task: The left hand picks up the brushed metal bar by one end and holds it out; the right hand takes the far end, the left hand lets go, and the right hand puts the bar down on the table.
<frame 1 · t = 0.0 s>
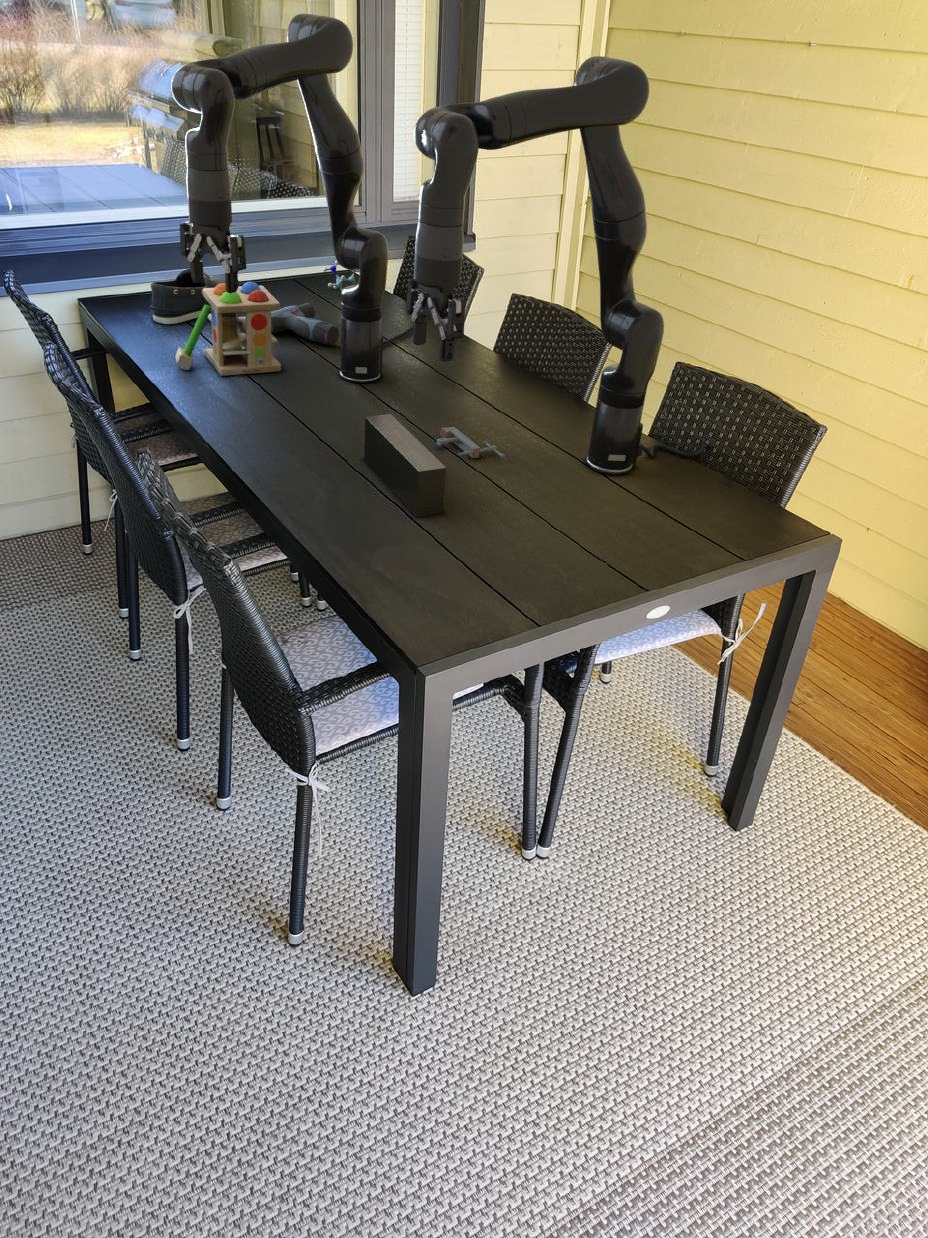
left hand: (214, 287, 183), 29 cm above the table, tool pointing down, fingers open, 8 cm apart
right hand: (432, 352, 163), 29 cm above the table, tool pointing down, fingers open, 8 cm apart
boat shoe: (198, 308, 263), on the table
clamp: (466, 451, 202), on the table
power drill: (311, 334, 253), on the table
bar: (401, 485, 187), on the table
molecular model: (341, 291, 287), on the table
pounding bench toy: (225, 365, 230), on the table
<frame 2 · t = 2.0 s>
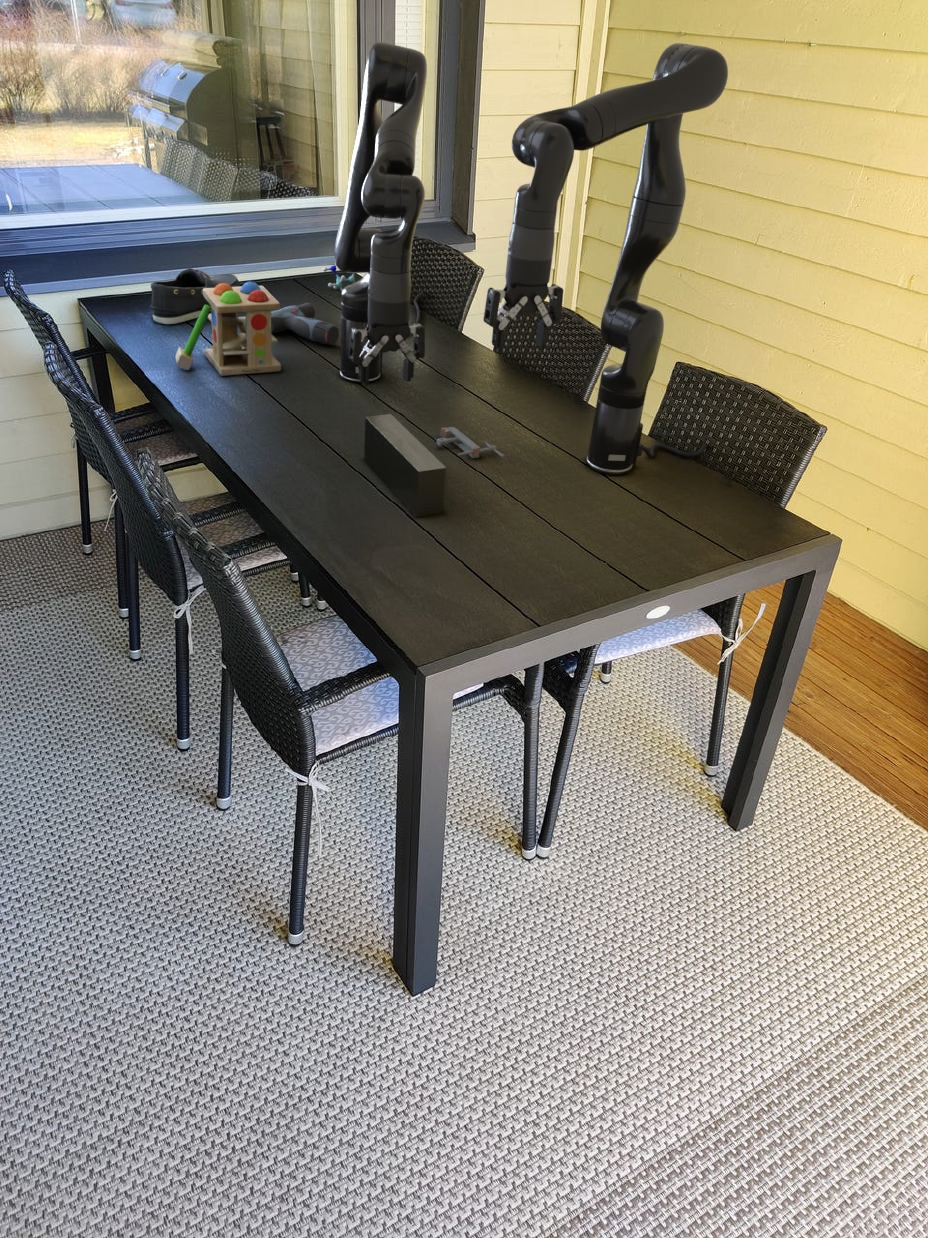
left hand: (386, 381, 184), 17 cm above the table, tool pointing down, fingers open, 8 cm apart
right hand: (519, 347, 173), 28 cm above the table, tool pointing down, fingers open, 8 cm apart
nothing on the table moved.
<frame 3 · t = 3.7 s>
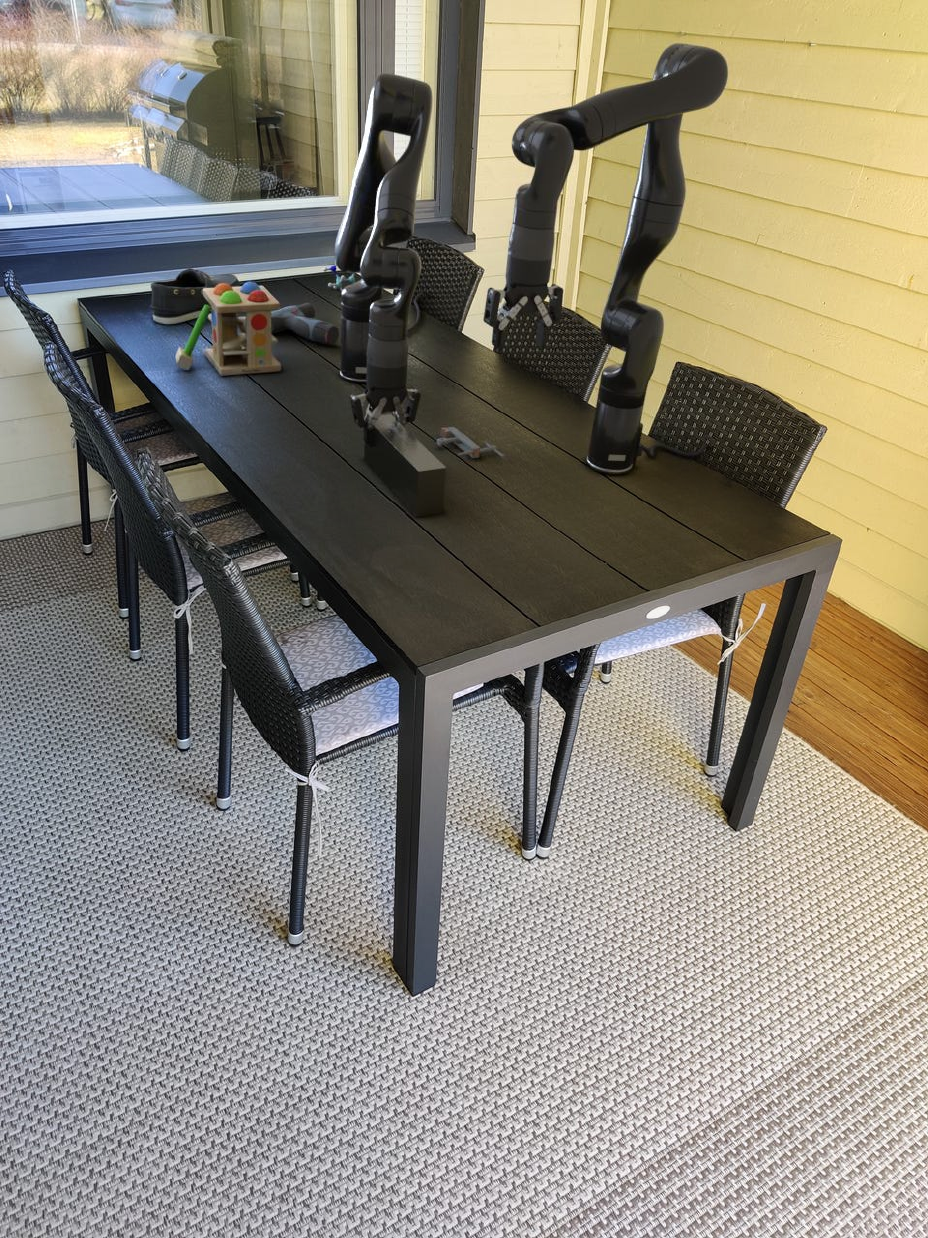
left hand: (383, 443, 191), 5 cm above the table, tool pointing down, fingers closed on bar, 5 cm apart
right hand: (519, 347, 173), 28 cm above the table, tool pointing down, fingers open, 8 cm apart
bar: (401, 485, 187), on the table, touching left hand
everything else where it was.
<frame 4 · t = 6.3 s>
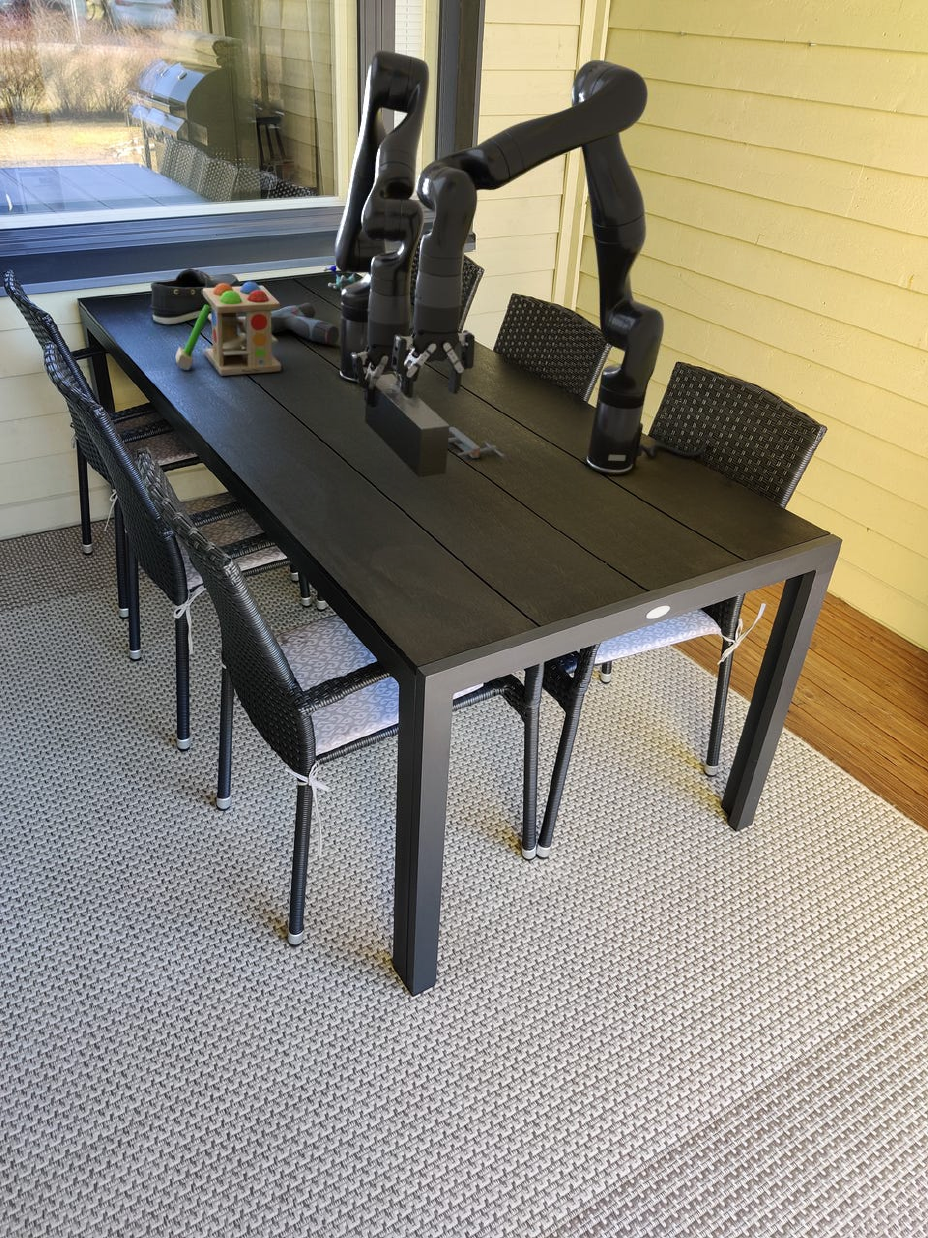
left hand: (385, 403, 186), 13 cm above the table, tool pointing down, fingers closed on bar, 5 cm apart
right hand: (430, 394, 168), 22 cm above the table, tool pointing down, fingers open, 8 cm apart
bar: (403, 446, 182), point 8 cm above the table, touching left hand
everything else where it was.
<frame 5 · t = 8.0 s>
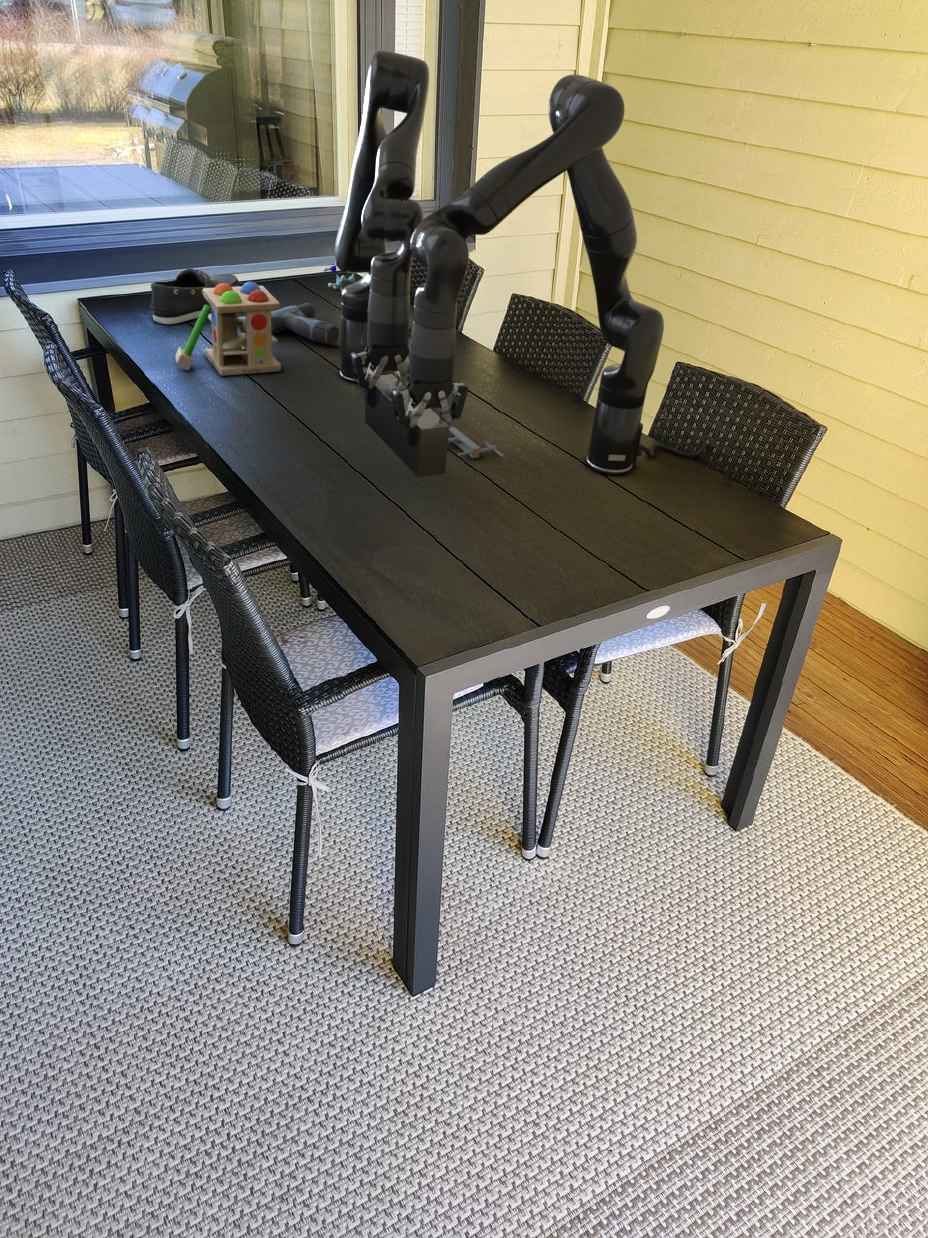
left hand: (385, 404, 186), 13 cm above the table, tool pointing down, fingers closed on bar, 5 cm apart
right hand: (426, 442, 173), 13 cm above the table, tool pointing down, fingers closed on bar, 5 cm apart
bar: (403, 446, 182), point 8 cm above the table, touching left hand, right hand
everything else where it was.
when the left hand's fingers open (13 cm above the table, at t = 9.0 s): bar stays where it is, held by the right hand.
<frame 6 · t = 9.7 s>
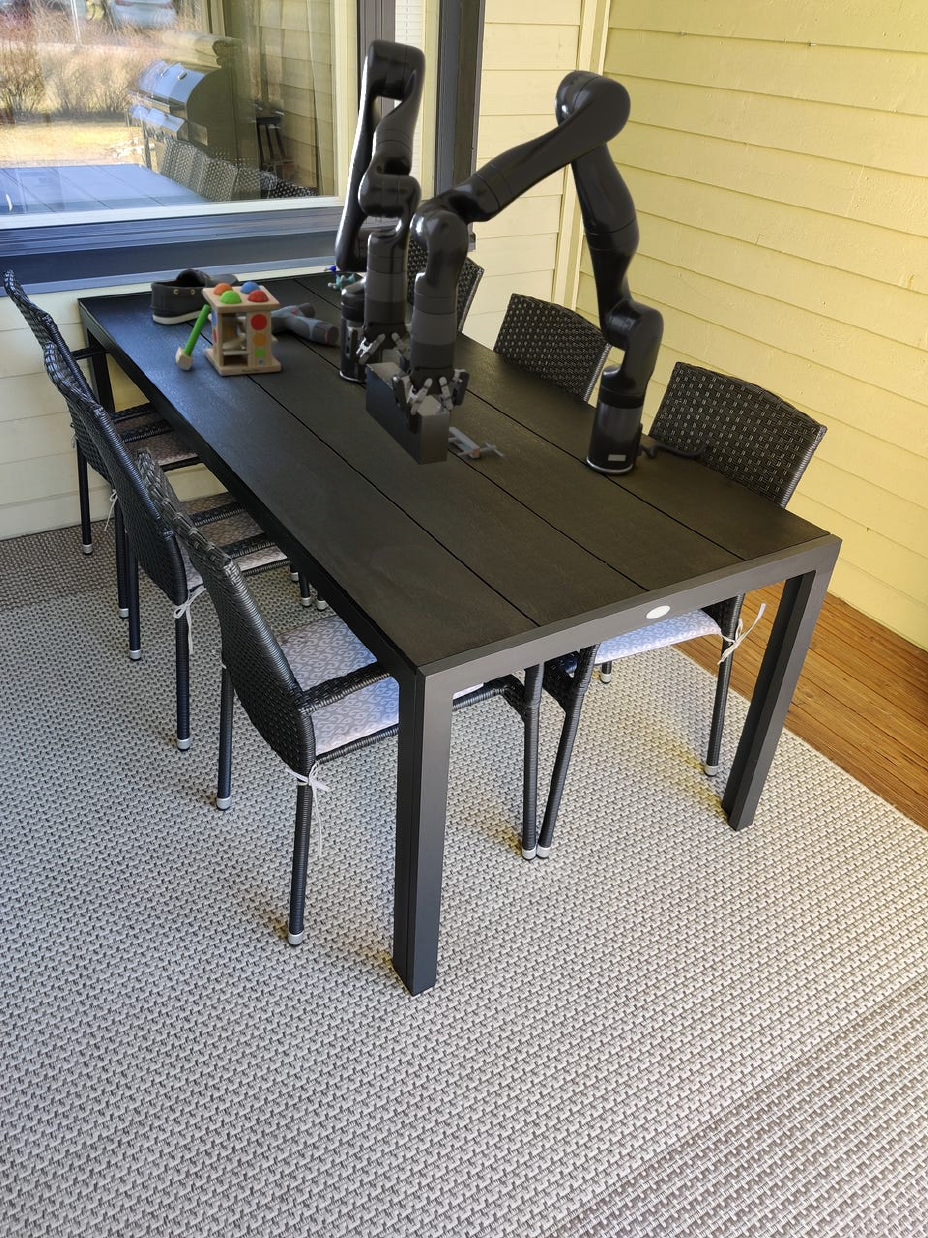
left hand: (382, 379, 185), 17 cm above the table, tool pointing down, fingers open, 8 cm apart
right hand: (427, 429, 172), 15 cm above the table, tool pointing down, fingers closed on bar, 5 cm apart
bar: (404, 434, 181), point 10 cm above the table, touching right hand
everything else where it was.
when the right hand's fingers open (6 cm above the table, at t = 12.5 s): bar drops 1 cm, on the table.
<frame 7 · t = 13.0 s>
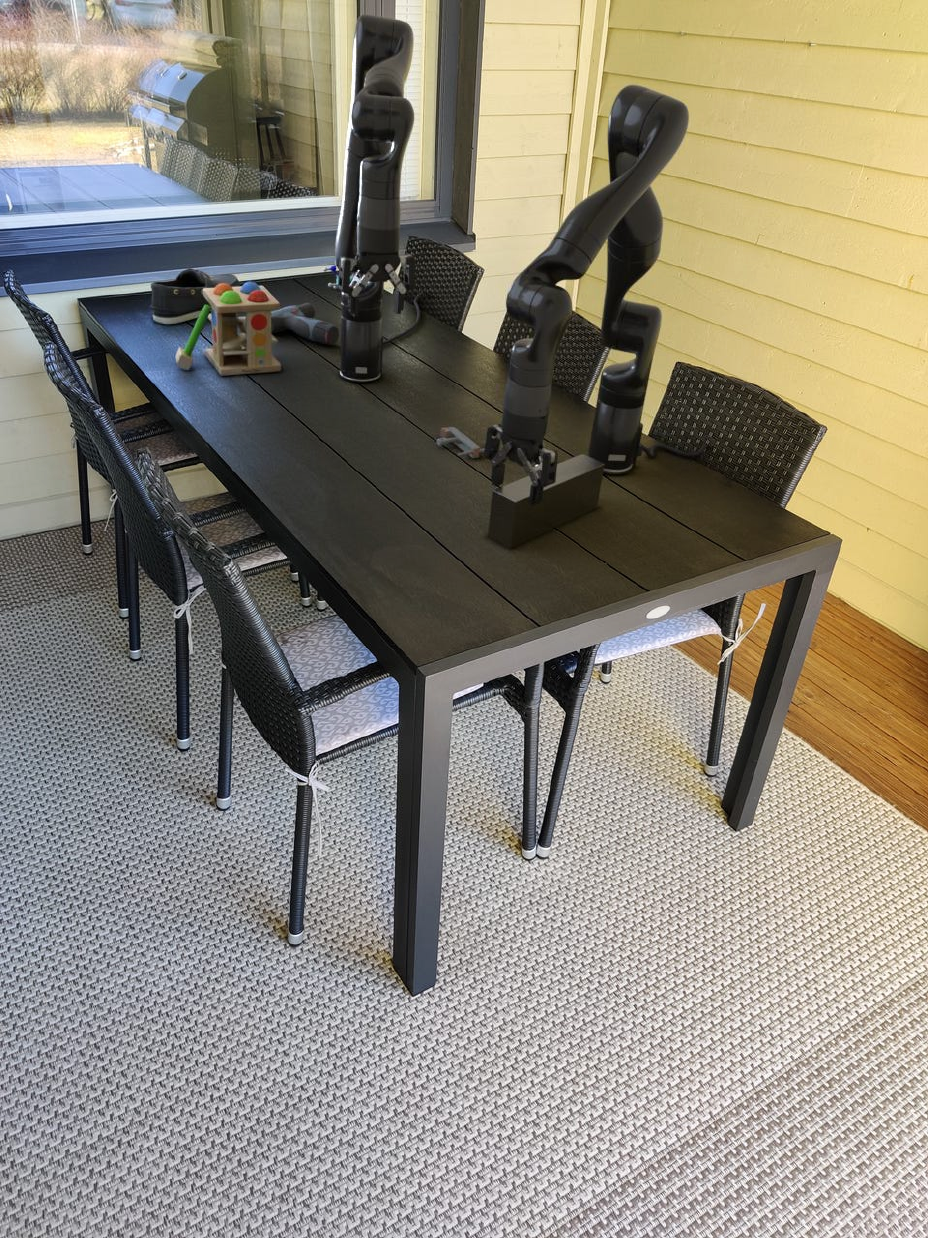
left hand: (376, 314, 182), 28 cm above the table, tool pointing down, fingers open, 8 cm apart
right hand: (515, 493, 169), 8 cm above the table, tool pointing down, fingers open, 8 cm apart
bar: (544, 521, 179), on the table
everything else where it was.
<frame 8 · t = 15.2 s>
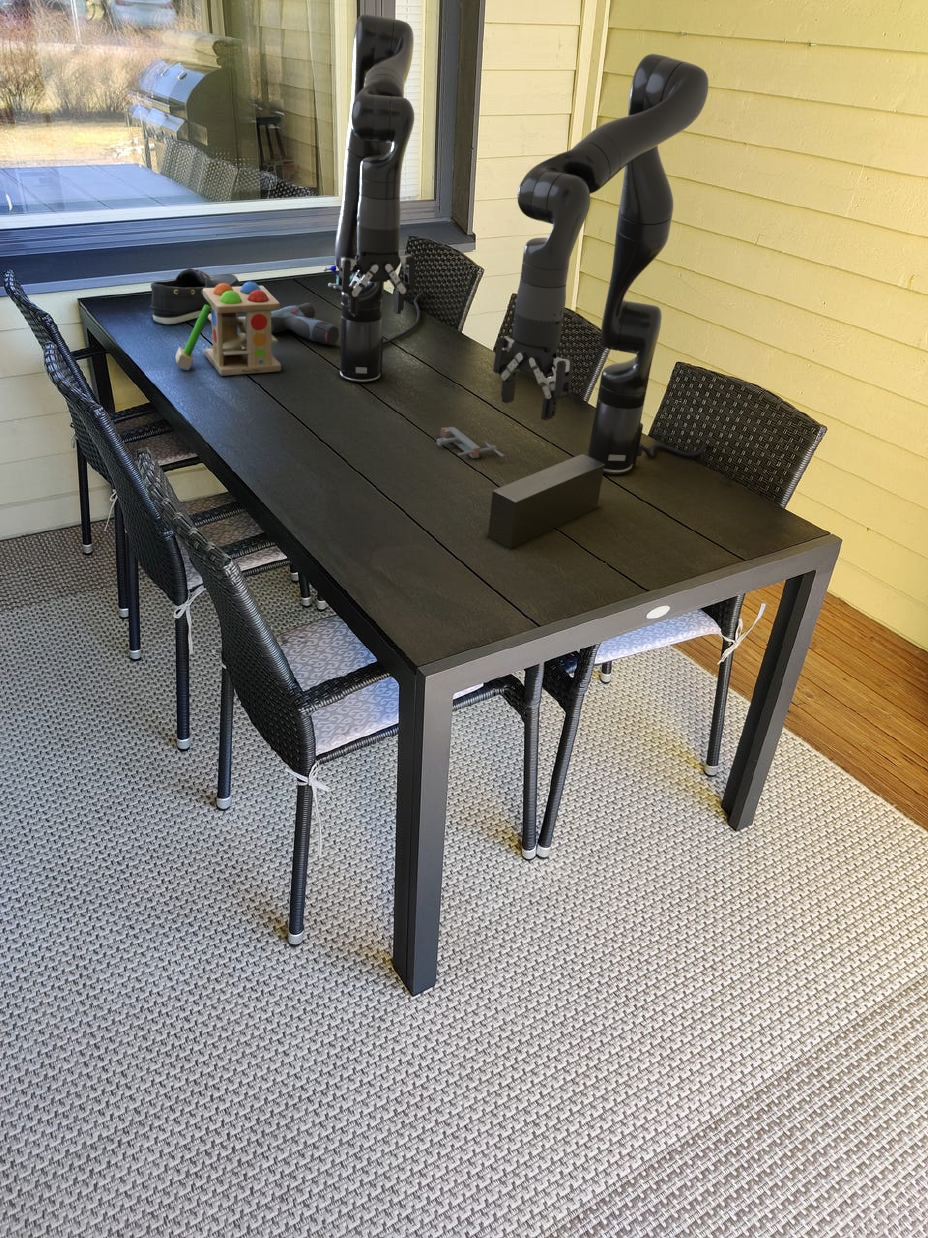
left hand: (376, 314, 182), 28 cm above the table, tool pointing down, fingers open, 8 cm apart
right hand: (527, 410, 160), 24 cm above the table, tool pointing down, fingers open, 8 cm apart
nothing on the table moved.
at the end: bar inside the target area (9.3 cm from its centre), on the table; the left hand is holding nothing; the right hand is holding nothing; bar at rest at the end (0.0 cm/s) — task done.
